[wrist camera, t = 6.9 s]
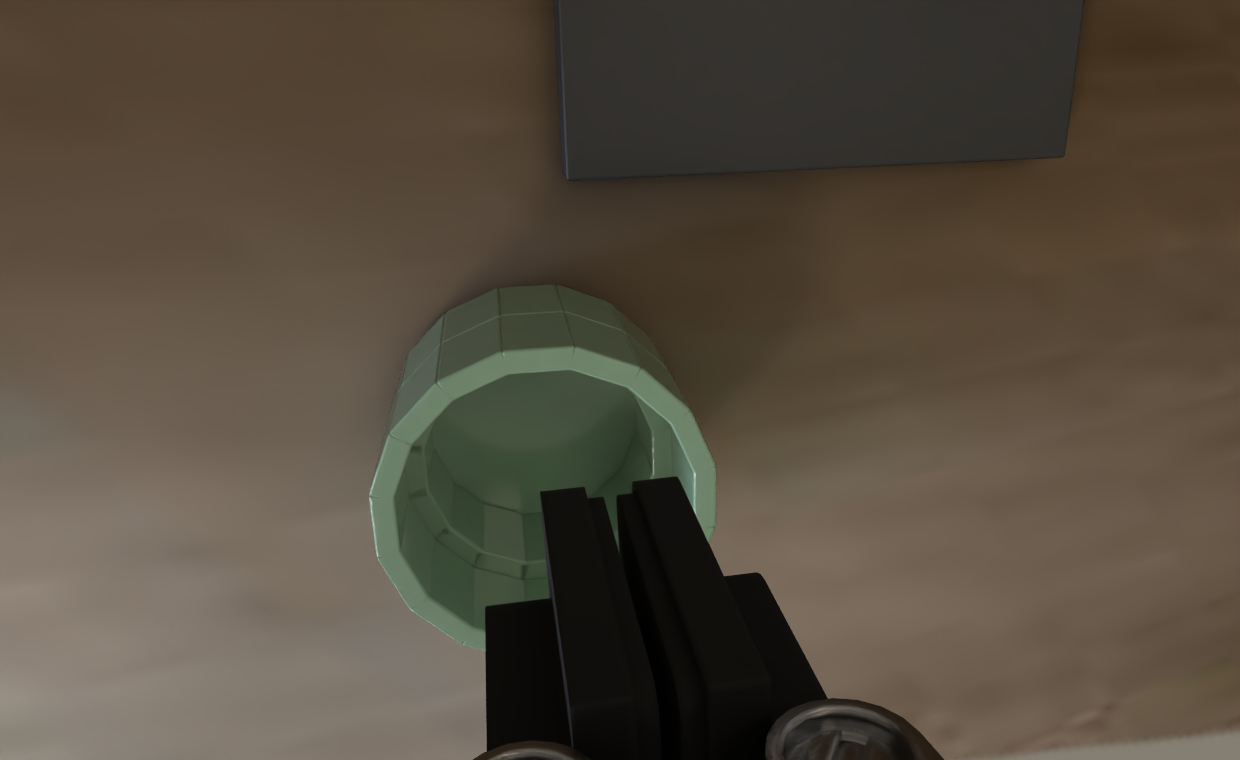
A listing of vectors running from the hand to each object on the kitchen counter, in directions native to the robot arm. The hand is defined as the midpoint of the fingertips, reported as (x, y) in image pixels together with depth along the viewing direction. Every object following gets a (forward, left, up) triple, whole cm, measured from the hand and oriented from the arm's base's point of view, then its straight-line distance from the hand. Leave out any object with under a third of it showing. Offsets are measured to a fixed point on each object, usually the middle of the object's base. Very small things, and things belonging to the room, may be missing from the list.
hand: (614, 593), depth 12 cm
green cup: (0, -3, -13) cm, 13 cm away
